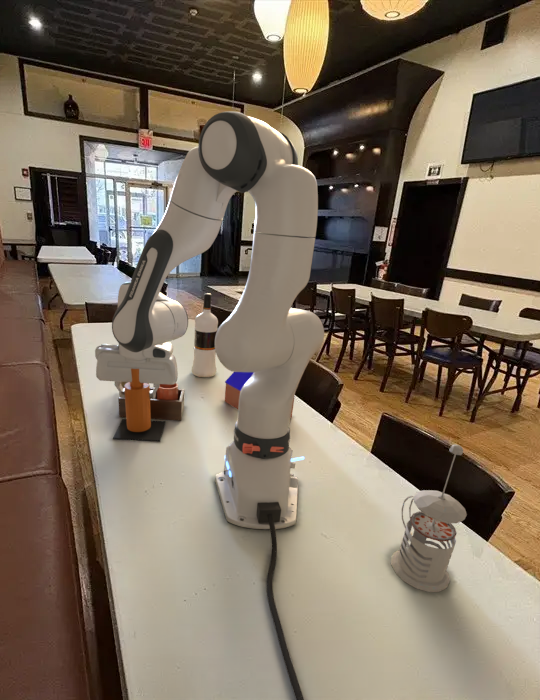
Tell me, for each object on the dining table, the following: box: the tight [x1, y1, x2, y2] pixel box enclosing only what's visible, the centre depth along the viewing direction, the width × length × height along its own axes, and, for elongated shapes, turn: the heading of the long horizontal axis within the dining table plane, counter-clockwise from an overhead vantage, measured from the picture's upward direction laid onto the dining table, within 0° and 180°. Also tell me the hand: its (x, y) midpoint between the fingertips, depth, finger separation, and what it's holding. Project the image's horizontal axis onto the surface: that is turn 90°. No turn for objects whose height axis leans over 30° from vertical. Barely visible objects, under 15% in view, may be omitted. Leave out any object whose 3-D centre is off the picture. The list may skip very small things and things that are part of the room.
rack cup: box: [157, 382, 179, 400], centre depth 121 cm, size 6×6×9 cm
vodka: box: [191, 292, 219, 378], centre depth 150 cm, size 9×9×30 cm
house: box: [224, 372, 296, 419], centre depth 128 cm, size 12×20×12 cm, turn 38°
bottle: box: [124, 369, 152, 432], centre depth 107 cm, size 6×6×17 cm
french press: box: [390, 443, 468, 593], centre depth 69 cm, size 10×12×25 cm
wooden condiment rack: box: [118, 386, 186, 422], centre depth 121 cm, size 9×18×6 cm, turn 92°
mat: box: [112, 418, 166, 443], centre depth 111 cm, size 11×12×1 cm
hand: (137, 397), depth 108 cm, fingers closed on bottle, 6 cm apart
